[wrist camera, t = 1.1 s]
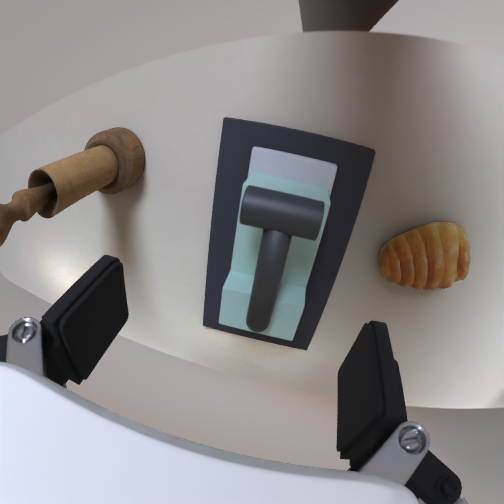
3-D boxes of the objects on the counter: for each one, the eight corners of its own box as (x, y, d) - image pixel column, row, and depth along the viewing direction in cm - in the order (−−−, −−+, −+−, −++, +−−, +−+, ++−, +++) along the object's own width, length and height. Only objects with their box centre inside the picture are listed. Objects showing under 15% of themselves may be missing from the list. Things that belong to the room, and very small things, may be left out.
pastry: (378, 285, 29) (384, 308, 26) (374, 226, 26) (382, 245, 23) (457, 272, 26) (470, 292, 23) (460, 213, 24) (477, 230, 20)
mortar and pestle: (114, 114, 25) (-44, 165, 10) (157, 154, 27) (7, 240, 11) (86, 161, 28) (-47, 235, 13) (124, 199, 30) (-1, 298, 14)
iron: (254, 145, 24) (223, 173, 16) (336, 164, 23) (350, 202, 15) (233, 281, 31) (206, 347, 23) (299, 296, 31) (291, 367, 22)
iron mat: (225, 117, 24) (223, 117, 23) (374, 149, 23) (375, 150, 22) (204, 322, 36) (202, 325, 36) (306, 347, 35) (306, 350, 35)
